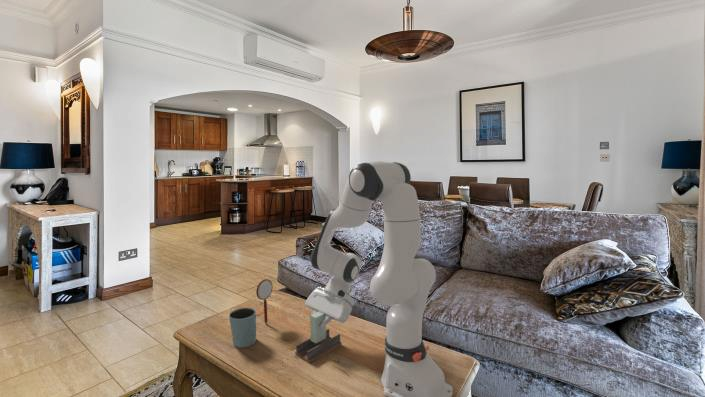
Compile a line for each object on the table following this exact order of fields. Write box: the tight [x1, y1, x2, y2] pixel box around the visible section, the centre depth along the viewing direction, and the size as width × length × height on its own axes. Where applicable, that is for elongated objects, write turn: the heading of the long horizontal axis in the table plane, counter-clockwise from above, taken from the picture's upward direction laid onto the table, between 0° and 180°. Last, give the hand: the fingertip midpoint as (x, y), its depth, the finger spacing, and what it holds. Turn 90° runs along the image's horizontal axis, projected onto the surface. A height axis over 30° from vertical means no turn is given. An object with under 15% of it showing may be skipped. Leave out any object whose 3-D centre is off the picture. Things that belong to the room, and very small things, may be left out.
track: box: [294, 328, 342, 364], centre depth 131 cm, size 8×16×4 cm, turn 137°
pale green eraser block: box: [309, 312, 327, 343], centre depth 130 cm, size 3×5×10 cm, turn 137°
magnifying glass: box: [255, 278, 274, 325], centre depth 150 cm, size 9×2×20 cm, turn 146°
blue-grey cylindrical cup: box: [228, 307, 257, 349], centre depth 137 cm, size 10×10×12 cm
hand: (316, 325), depth 130 cm, fingers closed on pale green eraser block, 3 cm apart
